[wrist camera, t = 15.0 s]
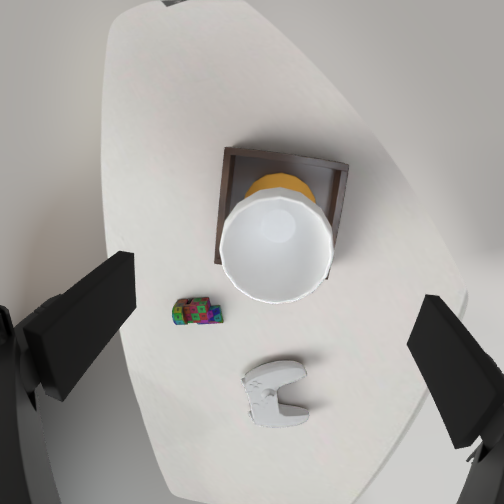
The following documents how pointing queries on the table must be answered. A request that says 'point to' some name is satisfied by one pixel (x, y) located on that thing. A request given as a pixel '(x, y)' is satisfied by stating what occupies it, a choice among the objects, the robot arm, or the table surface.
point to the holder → (265, 162)
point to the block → (196, 312)
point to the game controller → (273, 394)
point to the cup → (277, 241)
